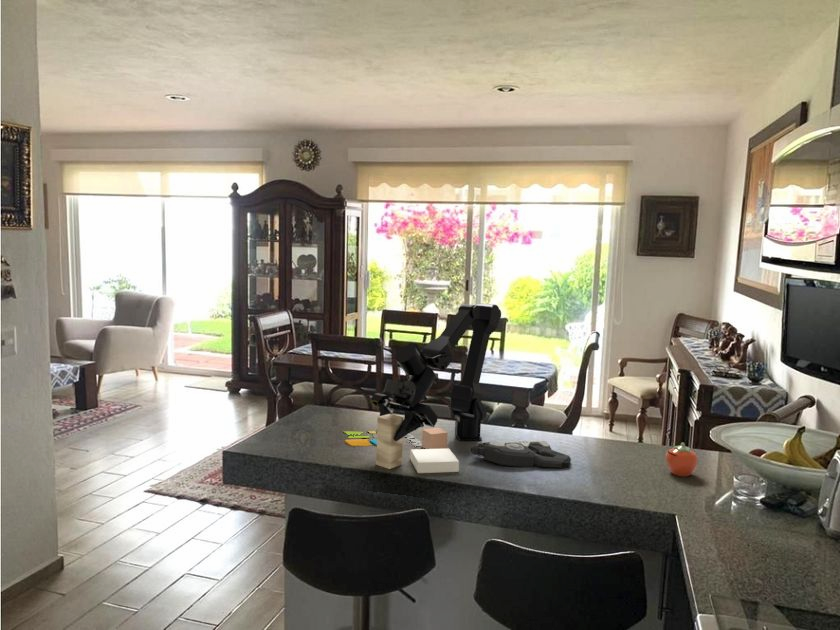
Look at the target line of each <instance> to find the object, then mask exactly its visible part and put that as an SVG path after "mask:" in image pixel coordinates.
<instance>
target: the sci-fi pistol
mask: <svg viewBox="0 0 840 630" xmlns="http://www.w3.org/2000/svg"><path fill="white" fill-rule="evenodd" d="M469 450H470V453H471V454H472V455H474V456H475V455H476V456H479V457H483V460H486V461H487V462H490V463H495V464H498V465H501V466H506V467H520V468H521V467H523V468H524V467H525V468H527V467H529V468H530V467H533V466H534V467H541V468H557V469H560V468H561V469H565V468H569V467H570V466H571V461H572V459H571V456H570V455H567V454H565V453H562V452H559V451H556V450H554V449H552V448H551V445H550V444H549V443H548V442H547V441H545V440H527V441H526V440H522V441H521V440H520V441H518V440H517V441H516V440H514V441H482V442H477V443H476V444H473V445H472V446H471V447H470V449H469Z"/></svg>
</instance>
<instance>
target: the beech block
mask: <svg viewBox="0 0 840 630" xmlns="http://www.w3.org/2000/svg"><path fill="white" fill-rule="evenodd" d="M403 420H404V416H401V415H397V414H393V413H392V414H387V415H383V416H380V415H379V416H377V424H376V431H377V446H376V453H375V457H376V458H375V460H376V461H375V465H377V466H379V467H382V468H385V469H388V470H390V469H394V468H397V467H401V466H402V465H403V444H404V437H403V438H401V439H399V440H398V441H395V440H394V436H395V434H396V432H397V430H398V429H399V427H400V425H401V424H402V422H403Z"/></svg>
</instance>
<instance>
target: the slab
mask: <svg viewBox="0 0 840 630" xmlns="http://www.w3.org/2000/svg"><path fill="white" fill-rule="evenodd" d="M410 461H411V463H412V465H413V467H414V469H415V470H416V472H417V474H428V473H429V474H430V473H432V474H433V473H457V472H459V471H460V466H459V465H460V461H459V459H458V458H457V457H456V455H455V454H454V452H452V450H451V449H450V448H449V447H447V448H446V449H424V448H422V449H421V448H418V449H415V448H414V449H410Z"/></svg>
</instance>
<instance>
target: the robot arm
mask: <svg viewBox="0 0 840 630" xmlns="http://www.w3.org/2000/svg"><path fill="white" fill-rule="evenodd" d="M501 317H502V311H501V309H500V308H499V306H498V305H497V304H493V303H483V302H482V303H480V302H477V303H475V304H467V303H463V304H461V305H460V306H459V307H458V311H457V313H456V314H455V315H454V317H453V318H452V319H451V320H450V322H449V323H448V324H447V326H446V327H445V328H444V329H443V331H442V333H441V334H440V335H439V336H438V337H436V338H435V339H432V340H430V341H428V342H427V343H426V345H425V346H424V347H423V348H422V349H420V348H419V344H418V343H417V342H413V341H410V342H409V343H408V344H406V345H403V346H402V347H400V348H399V349H398V350H397V351H396V352H395V355H394V359H395V361H396V362H397V364H398V365H399V366H400V367H401V369H402V370H403V372H404V373H405V375H406V376H410V377H409V378H408V380H405V381H402V382H401V381H398V380H393V379H389V378H387V380H386V383H385V386H384V389H383V392H384V393H387V394H390V395H391V396H390V397H391V398H392V399H393V400H394V402H393V401H392V400H391V399H390V398H389V396H388V395H387V394H383V393H380V392H379V393H378V392H377V393H373V395H372V396H371V398H370V399H369V401H370V402H371V403H372V405H373V406H374V407H375V409H376V410H377V411H378V412H379V416H383V415H387V414H393V413H394V412H399V413H402V414H404V415H403V417H404V418H403V422H402V424H401V425H400V427H399V429H398V430H397V432H396V434H395V436H394V440H395V441H398V440H399V439H401V438H403V439H404V438H405V437H404V436H406V435H407V434H409V435H410V433H412V432H414V431H416V430H418V429H419V428H420V429H421V428H424V427H425V426H427V427H430V428H431V427H432V428H435V426H436V424H437V423H438V414H436V413H435V411H434V409H432V407H431V406H430V405H427V404H424V403H423V402H426V401H427V399H428V397H427V396H426V395H427V393H428V391H430V389H431V387H432V385H433V384H434V385H435V384H436V385H439V384H440V379H439V373H437V372H435V371H434V370H439V371H442V370H443V371H444V370H447V368H448V367H449V366H450V364H451V362H452V360H453V358H454V349H455V347H456V346H457V344H458V343H459V342H460V340H461V339H462V337H463V336H464V335H465V333H466V331H467V330H468V329H469V328H470V326H471V328H472V329H471V330H472V334H471V339H470V344H469V347H468V348H469V349H468V352H467V357H466V361H465V365H464V369H463V374H462V378H461V380H460V382H459V383H458V384H456V383H455V384H453V385H452V390H451V394H450V396H449V400H450V401H449V402H450V403H449V404H450V408H451V413H452V415H453V416H456V420H455V422H454V436H455V437H456V438H457V439H458V440H459V441H482V440H483V437H481V424H482V421H484V419H486V418H487V417H486V416H487V412H488V410H487V408H486V407H485V405H484V403H483V402H482V399H483V393H482V390H481V387H480V380H481V377H482V372H483V367H484V363H485V362H484V361H485V358H486V355H487V350H488V344H489V340H490V337H491V335H492V334H493V333H494V332H495V330H497V329H498V327H499V323H500V320H501ZM433 369H434V370H433ZM422 401H423V402H422ZM376 434H377V430H376ZM406 437H407V436H406Z"/></svg>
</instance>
